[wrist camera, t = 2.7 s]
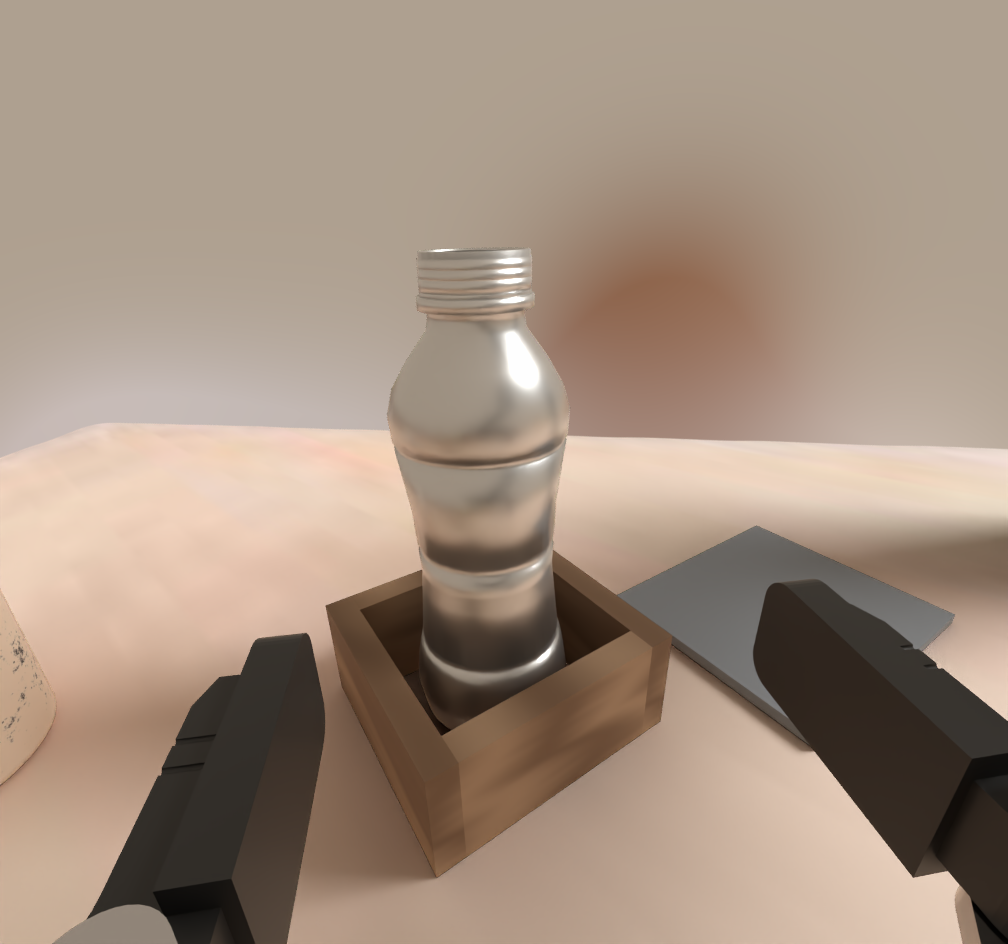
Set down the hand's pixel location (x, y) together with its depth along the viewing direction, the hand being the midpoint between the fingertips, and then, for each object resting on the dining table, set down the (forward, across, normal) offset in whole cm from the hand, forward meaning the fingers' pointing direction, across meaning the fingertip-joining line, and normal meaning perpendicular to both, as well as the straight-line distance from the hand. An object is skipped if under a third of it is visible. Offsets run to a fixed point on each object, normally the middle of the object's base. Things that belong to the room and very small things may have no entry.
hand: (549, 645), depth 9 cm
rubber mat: (+15, -17, +14) cm, 27 cm away
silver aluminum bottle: (+12, 0, +14) cm, 18 cm away
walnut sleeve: (+12, 0, +14) cm, 18 cm away
